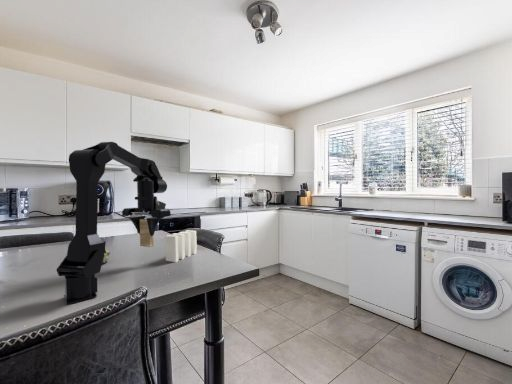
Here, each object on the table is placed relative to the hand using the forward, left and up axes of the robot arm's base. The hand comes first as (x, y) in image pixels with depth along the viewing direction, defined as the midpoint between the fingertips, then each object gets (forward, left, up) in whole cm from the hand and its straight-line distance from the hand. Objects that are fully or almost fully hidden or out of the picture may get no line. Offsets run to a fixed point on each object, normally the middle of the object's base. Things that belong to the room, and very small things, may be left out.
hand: (146, 235), depth 96 cm
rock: (-15, +15, -12) cm, 24 cm away
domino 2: (+9, -2, -11) cm, 14 cm away
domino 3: (+13, 0, -11) cm, 17 cm away
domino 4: (+16, +1, -11) cm, 20 cm away
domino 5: (+20, +3, -11) cm, 23 cm away
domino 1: (0, 0, -4) cm, 4 cm away
